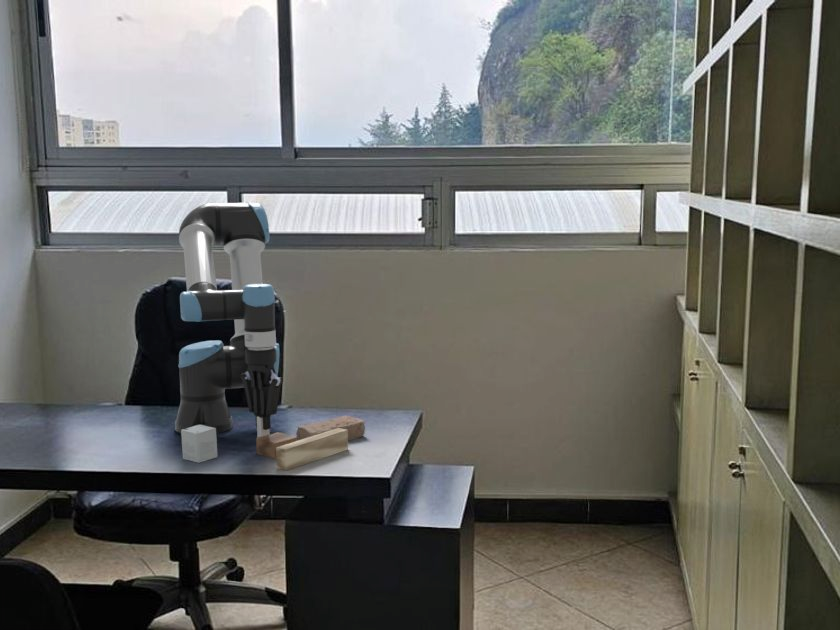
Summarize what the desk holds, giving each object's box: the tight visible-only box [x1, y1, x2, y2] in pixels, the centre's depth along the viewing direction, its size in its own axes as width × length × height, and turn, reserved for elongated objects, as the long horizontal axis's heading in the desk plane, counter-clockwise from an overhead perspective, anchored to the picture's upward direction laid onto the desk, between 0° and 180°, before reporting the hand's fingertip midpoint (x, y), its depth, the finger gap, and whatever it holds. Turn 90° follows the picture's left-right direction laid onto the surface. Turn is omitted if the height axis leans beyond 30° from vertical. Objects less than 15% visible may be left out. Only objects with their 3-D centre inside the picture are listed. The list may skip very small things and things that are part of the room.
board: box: [276, 428, 349, 471], centre depth 212 cm, size 3×21×5 cm, turn 142°
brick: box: [295, 415, 366, 441], centre depth 229 cm, size 17×8×5 cm, turn 128°
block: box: [255, 431, 297, 460], centre depth 217 cm, size 7×7×4 cm
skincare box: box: [180, 425, 218, 464], centre depth 213 cm, size 6×6×7 cm
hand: (263, 441), depth 220 cm, fingers closed
